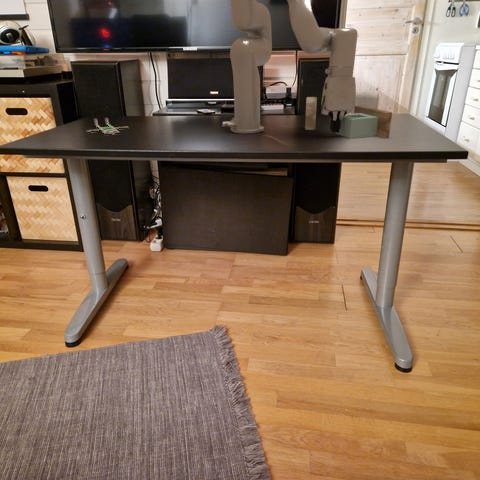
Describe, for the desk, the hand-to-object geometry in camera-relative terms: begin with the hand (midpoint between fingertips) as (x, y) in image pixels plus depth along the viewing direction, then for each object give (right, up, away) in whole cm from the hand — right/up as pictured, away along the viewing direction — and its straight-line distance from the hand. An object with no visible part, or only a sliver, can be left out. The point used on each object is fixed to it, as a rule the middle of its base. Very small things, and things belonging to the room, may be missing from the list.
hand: (334, 131), depth 135 cm
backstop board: (+5, -2, +2) cm, 5 cm away
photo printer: (+18, +11, +28) cm, 35 cm away
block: (+7, 0, +3) cm, 8 cm away
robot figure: (-85, +7, +26) cm, 89 cm away
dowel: (-6, +4, +13) cm, 15 cm away
